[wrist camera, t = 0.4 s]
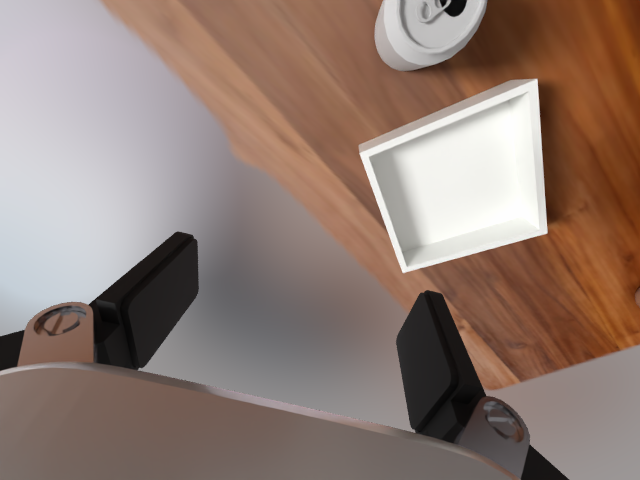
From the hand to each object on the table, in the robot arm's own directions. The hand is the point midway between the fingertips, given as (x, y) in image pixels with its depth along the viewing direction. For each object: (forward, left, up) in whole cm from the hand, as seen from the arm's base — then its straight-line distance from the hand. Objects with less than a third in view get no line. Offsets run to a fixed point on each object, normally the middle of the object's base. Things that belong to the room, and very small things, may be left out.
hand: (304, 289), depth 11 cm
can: (-12, -8, -29) cm, 32 cm away
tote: (-12, +10, -29) cm, 32 cm away
